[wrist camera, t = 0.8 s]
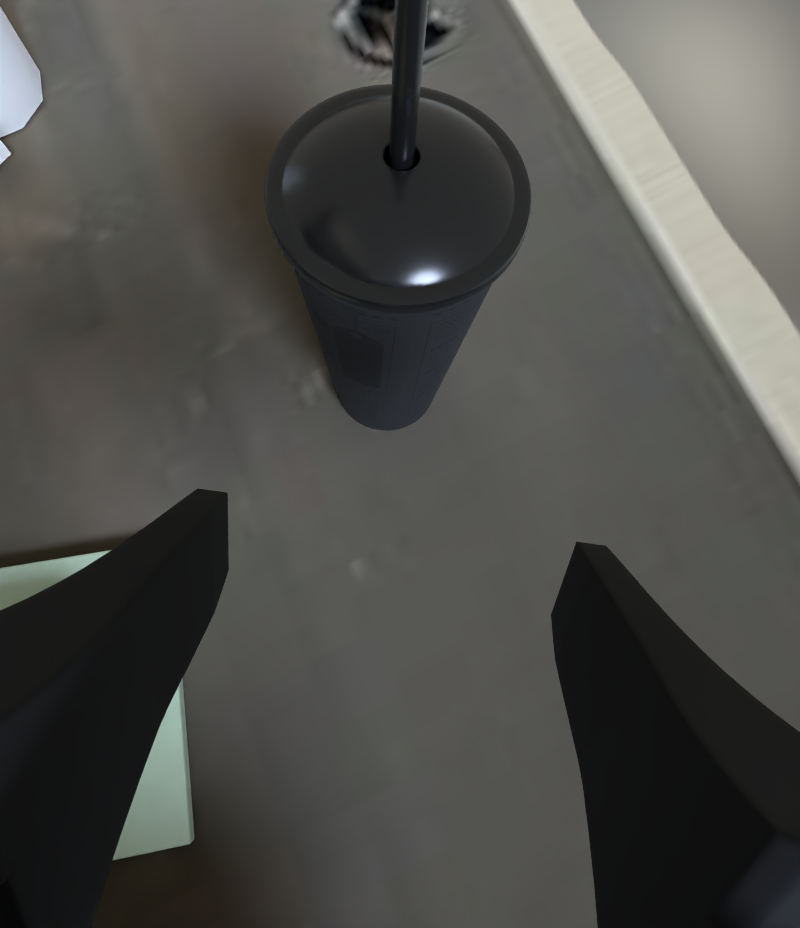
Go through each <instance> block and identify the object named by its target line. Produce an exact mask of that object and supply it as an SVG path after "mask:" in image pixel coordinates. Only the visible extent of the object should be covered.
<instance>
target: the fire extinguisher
mask: <svg viewBox="0 0 800 928" xmlns="http://www.w3.org/2000/svg"><path fill="white" fill-rule="evenodd" d="M42 101H43V97H42V87H41V77H40V71H39V69H38V68H37V66H36V64H35V63H34V61H33V60H32V58H31V56H30V55H29V53H28V51H27V50H26V48H25V46H24V45H23V43H22V42H21V40H20V38H19V37H18V35H17V33H16V32H15V30H14V28H13V27H12V25H11V24H10V22H9V20H8V19H7V17H6V15H5V14H4V12H3V11H2V9H1V7H0V138H1V137H3V136H5V135H8V134H10V133H13V132H15V131H17V130H20V129H22V128H23V127H24V126H25V125H26V123H27V122H28V120H29V119H30V118H31V116H32V115H33V114H34V112H35V111H36V109H37V108H38V107H39V105H40V104H41V103H42ZM10 154H11V153H10V152H9V150H8V149H7V148H6V146H5V145H4V144H3V143H2V141H1V140H0V164H1V163H2V162H3V161H4V160H5V159H6V158H7V157H8V156H9V155H10Z"/></svg>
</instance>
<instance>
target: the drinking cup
mask: <svg viewBox="0 0 800 928" xmlns="http://www.w3.org/2000/svg"><path fill="white" fill-rule="evenodd" d="M427 11H428V0H395V20H394V45H393V69H392V84H387V85H374V86H368V87H362V88H358V89H353V90H350V91H347V92H344V93H341V94H338V95H336V96H333V97H331V98H329V99H327V100H325V101H323V102H321V103H319V104H318V105H316V106H315V107H313V108H311V109H310V110H309V111H307V112H306V113H305V114H303V115H302V116H301V117H300V118H299V119H298V120H297V121H296V122H295V123H294V124H293V125H292V126H291V127H290V128H289V129H288V130H287V132H286V133H285V134H284V136H283V137H282V139H281V140H280V142H279V143H278V145H277V147H276V149H275V151H274V153H273V155H272V158H271V161H270V163H269V167H268V171H267V175H266V181H265V204H266V211H267V215H268V220H269V224H270V227H271V230H272V233H273V236H274V238H275V240H276V242H277V244H278V246H279V248H280V250H281V251H282V253H283V254H284V256H285V257H286V259H287V260H288V261H289V262H290V264H291V265H292V266H293V267H294V270H295V273H296V275H297V278H298V281H299V284H300V287H301V290H302V293H303V296H304V299H305V301H306V304H307V307H308V310H309V313H310V316H311V319H312V322H313V324H314V327H315V330H316V333H317V336H318V339H319V342H320V345H321V348H322V350H323V353H324V356H325V359H326V362H327V365H328V368H329V371H330V374H331V376H332V379H333V382H334V385H335V388H336V391H337V394H338V397H339V399H340V402H341V404H342V406H343V407H344V409H345V410H346V412H347V413H348V414H349V415H350V416H351V417H352V418H353V419H355V420H356V421H357V422H359V423H361V424H363V425H365V426H367V427H370V428H373V429H378V430H395V429H400V428H403V427H406V426H408V425H410V424H412V423H414V422H415V421H417V420H418V419H419V418H420V417H421V416H422V415H423V414H424V413H425V412H426V410H427V409H428V407H429V406H430V404H431V402H432V400H433V398H434V396H435V394H436V392H437V390H438V388H439V386H440V384H441V382H442V380H443V378H444V376H445V374H446V373H447V371H448V369H449V367H450V365H451V363H452V361H453V359H454V357H455V355H456V353H457V351H458V349H459V347H460V345H461V343H462V341H463V339H464V337H465V335H466V333H467V331H468V329H469V327H470V325H471V323H472V322H473V320H474V318H475V316H476V314H477V312H478V310H479V308H480V306H481V304H482V302H483V300H484V298H485V296H486V294H487V292H488V290H489V288H490V286H491V284H492V283H493V282H494V281H495V280H496V279H497V278H498V277H499V276H500V275H501V274H502V273H503V272H504V271H505V270H506V269H507V267H508V266H509V265H510V264H511V262H512V261H513V259H514V257H515V256H516V254H517V252H518V250H519V248H520V246H521V244H522V242H523V239H524V237H525V234H526V231H527V228H528V224H529V220H530V214H531V189H530V182H529V179H528V174H527V171H526V168H525V165H524V163H523V160H522V158H521V156H520V154H519V152H518V150H517V149H516V147H515V146H514V144H513V143H512V141H511V140H510V139H509V137H508V136H507V135H506V133H505V132H504V131H503V130H502V129H501V128H500V127H499V126H498V125H497V124H496V123H495V122H494V121H493V120H491V119H490V118H489V117H488V116H487V115H485V114H484V113H483V112H481V111H480V110H478V109H477V108H475V107H473V106H472V105H470V104H468V103H467V102H464V101H463V100H461V99H458V98H456V97H454V96H451V95H449V94H446V93H443V92H440V91H437V90H433V89H429V88H424V87H421V77H422V66H423V55H424V44H425V33H426V22H427Z"/></svg>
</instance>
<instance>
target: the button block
mask: <svg viewBox="0 0 800 928" xmlns="http://www.w3.org/2000/svg"><path fill="white" fill-rule="evenodd" d="M109 551H111V550H107V551H101V552H95V553H89V554H83V555H77V556H70V557H64V558H58V559H52V560H46V561H40V562H34V563H28V564H22V565H15V566H9V567H3V568H0V610H2V609H4V608H7V607H9V606H11V605H13V604H16V603H18V602H20V601H22V600H25V599H27V598H29V597H31V596H33V595H35V594H37V593H39V592H40V591H42V590H44V589H46V588H48V587H50V586H52V585H54V584H56V583H58V582H60V581H61V580H63V579H65V578H67V577H69V576H70V575H72V574H74V573H76V572H77V571H79V570H81V569H83V568H84V567H86V566H87V565H89V564H91V563H92V562H94V561H95V560H97V559H98V558H100V557H102V556H103V555H105V554H106V553H108V552H109ZM194 838H195V837H194V824H193V811H192V797H191V784H190V771H189V758H188V744H187V731H186V718H185V705H184V691H183V678H182V680H181V682H180V684H179V686H178V688H177V690H176V692H175V694H174V696H173V698H172V700H171V702H170V704H169V707H168V709H167V711H166V713H165V716H164V718H163V720H162V723H161V725H160V727H159V730H158V732H157V735H156V738H155V740H154V743H153V746H152V748H151V751H150V754H149V757H148V759H147V762H146V765H145V767H144V770H143V773H142V776H141V778H140V781H139V784H138V787H137V790H136V793H135V795H134V798H133V801H132V804H131V807H130V810H129V813H128V815H127V818H126V821H125V824H124V827H123V830H122V833H121V836H120V839H119V842H118V845H117V848H116V851H115V854H114V857H113V860H117V859H122V858H127V857H132V856H136V855H141V854H146V853H151V852H155V851H160V850H165V849H170V848H174V847H179V846H184V845H189V844H190V843H191V842H192V841H193V840H194Z"/></svg>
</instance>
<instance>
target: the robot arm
mask: <svg viewBox="0 0 800 928" xmlns="http://www.w3.org/2000/svg"><path fill="white" fill-rule="evenodd" d="M228 570H229V565H228V498H227V493H225V492H218V491H211V490H204V489H197V490H195V491H194V492H192V493H191V494H190V495H188V496H187V497H185V498H184V499H183V500H181V501H180V502H179V503H177V504H176V505H174V506H173V507H172V508H170V509H169V510H168V511H166V512H165V513H164V514H162V515H161V516H160V517H158V518H157V519H156V520H154V521H153V522H152V523H150V524H149V525H147V526H146V527H145V528H143V529H142V530H140V531H139V532H137V533H136V534H135V535H133V536H132V537H130V538H129V539H128V540H126V541H125V542H123V543H122V544H120V545H119V546H117V547H116V548H114V549H112V550H111V551H109V552H108V553H106V554H105V555H103V556H102V557H100V558H98V559H97V560H95V561H94V562H92V563H91V564H89V565H87V566H86V567H84V568H83V569H81V570H79V571H77V572H76V573H74V574H72V575H70V576H69V577H67V578H65V579H63V580H61V581H60V582H58V583H56V584H54V585H52V586H50V587H48V588H46V589H44V590H42V591H40V592H39V593H37V594H35V595H33V596H31V597H29V598H27V599H25V600H22V601H20V602H18V603H16V604H13V605H11V606H9V607H7V608H4V609H2V610H0V928H91V926H92V923H93V919H94V916H95V913H96V910H97V907H98V903H99V900H100V897H101V894H102V890H103V887H104V884H105V881H106V878H107V875H108V872H109V869H110V866H111V863H112V860H113V857H114V854H115V851H116V848H117V845H118V842H119V839H120V836H121V833H122V830H123V827H124V824H125V821H126V818H127V815H128V813H129V810H130V807H131V804H132V801H133V798H134V795H135V793H136V790H137V787H138V784H139V781H140V778H141V776H142V773H143V770H144V767H145V765H146V762H147V759H148V757H149V754H150V751H151V748H152V746H153V743H154V740H155V738H156V735H157V732H158V730H159V727H160V725H161V723H162V720H163V718H164V716H165V713H166V711H167V709H168V707H169V704H170V702H171V700H172V698H173V696H174V694H175V692H176V690H177V688H178V686H179V684H180V682H181V680H182V678H183V676H184V674H185V672H186V670H187V668H188V666H189V664H190V662H191V660H192V658H193V656H194V654H195V652H196V650H197V648H198V645H199V643H200V641H201V639H202V637H203V635H204V633H205V631H206V629H207V627H208V625H209V623H210V621H211V618H212V616H213V614H214V612H215V609H216V606H217V603H218V600H219V598H220V595H221V592H222V589H223V586H224V582H225V579H226V576H227V573H228ZM551 619H552V632H553V643H554V653H555V661H556V666H557V670H558V675H559V679H560V684H561V688H562V693H563V697H564V701H565V706H566V710H567V714H568V718H569V723H570V727H571V731H572V736H573V740H574V744H575V749H576V753H577V757H578V762H579V767H580V772H581V778H582V783H583V790H584V798H585V806H586V814H587V822H588V830H589V839H590V849H591V858H592V868H593V877H594V887H595V899H596V911H597V924H598V928H800V732H799V731H797V730H796V729H795V728H793V727H792V726H791V725H789V724H788V723H787V722H785V721H784V720H783V719H781V718H780V717H779V716H777V715H776V714H775V713H773V712H772V711H771V710H770V709H768V708H767V707H766V706H765V705H763V704H762V703H761V702H760V701H758V700H757V699H756V698H755V697H753V696H752V695H751V694H750V693H749V692H748V691H747V690H745V689H744V688H743V687H742V686H741V685H740V684H738V683H737V682H736V681H735V680H734V679H733V678H731V677H730V676H729V675H728V674H727V673H726V672H724V671H723V670H722V669H721V668H720V667H719V666H718V665H717V664H716V663H715V662H714V661H713V660H711V659H710V658H709V657H708V656H707V655H706V654H705V653H704V652H703V651H702V650H701V649H700V648H699V647H698V646H697V645H696V644H695V643H694V642H693V641H692V640H691V639H690V638H689V637H688V636H687V635H686V634H685V633H684V632H683V631H682V630H681V629H680V628H679V627H678V626H677V625H676V624H675V622H674V621H673V620H672V619H671V618H670V617H669V616H668V615H667V614H666V613H665V612H664V611H663V610H662V608H661V607H660V606H659V605H658V604H657V603H656V602H655V601H654V600H653V598H652V597H651V596H650V595H649V594H648V593H647V592H646V591H645V589H644V588H643V587H642V586H641V585H640V584H639V583H638V581H637V580H636V579H635V578H634V577H633V576H632V574H631V573H630V572H629V571H628V570H627V569H626V568H625V566H624V565H623V564H622V563H621V562H620V561H619V560H618V558H617V557H616V556H615V555H614V554H613V553H612V552H611V551H610V550H609V549H608V548H607V547H606V546H603V545H596V544H589V543H581V542H576V545H575V548H574V551H573V554H572V556H571V559H570V562H569V565H568V568H567V571H566V574H565V576H564V579H563V582H562V585H561V588H560V591H559V594H558V596H557V599H556V602H555V605H554V608H553V611H552V613H551Z"/></svg>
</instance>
